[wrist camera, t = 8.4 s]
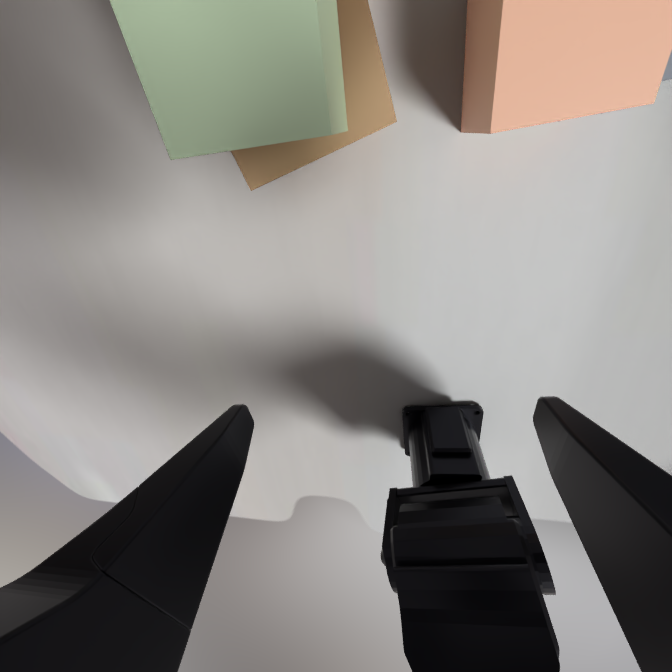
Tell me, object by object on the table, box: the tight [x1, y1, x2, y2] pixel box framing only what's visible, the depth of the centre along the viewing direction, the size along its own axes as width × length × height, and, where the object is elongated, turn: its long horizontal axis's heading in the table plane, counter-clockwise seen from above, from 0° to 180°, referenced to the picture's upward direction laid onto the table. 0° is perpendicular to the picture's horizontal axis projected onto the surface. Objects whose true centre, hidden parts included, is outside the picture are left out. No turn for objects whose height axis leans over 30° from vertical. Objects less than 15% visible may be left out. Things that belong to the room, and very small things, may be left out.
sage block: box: [110, 0, 348, 160], centre depth 9 cm, size 5×5×5 cm
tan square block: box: [231, 0, 397, 191], centre depth 13 cm, size 7×7×4 cm
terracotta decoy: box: [461, 0, 672, 134], centre depth 11 cm, size 5×5×5 cm
